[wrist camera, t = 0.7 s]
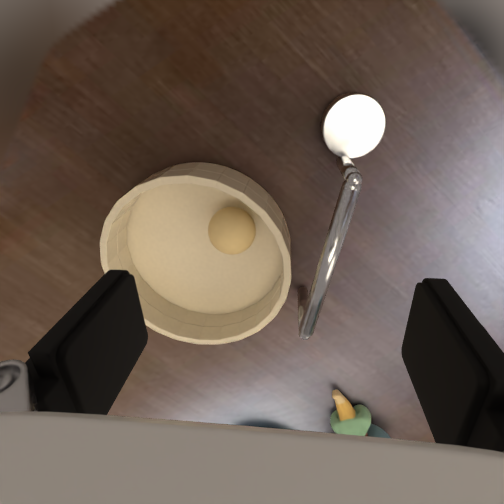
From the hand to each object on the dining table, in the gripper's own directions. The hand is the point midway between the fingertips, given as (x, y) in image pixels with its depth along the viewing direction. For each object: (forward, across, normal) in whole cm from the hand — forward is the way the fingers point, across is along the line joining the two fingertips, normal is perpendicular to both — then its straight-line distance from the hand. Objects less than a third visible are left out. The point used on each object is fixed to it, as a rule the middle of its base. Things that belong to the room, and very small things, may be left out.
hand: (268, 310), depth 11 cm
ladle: (+19, -4, +3) cm, 19 cm away
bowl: (+19, +7, +7) cm, 21 cm away
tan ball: (+18, +4, +4) cm, 19 cm away
